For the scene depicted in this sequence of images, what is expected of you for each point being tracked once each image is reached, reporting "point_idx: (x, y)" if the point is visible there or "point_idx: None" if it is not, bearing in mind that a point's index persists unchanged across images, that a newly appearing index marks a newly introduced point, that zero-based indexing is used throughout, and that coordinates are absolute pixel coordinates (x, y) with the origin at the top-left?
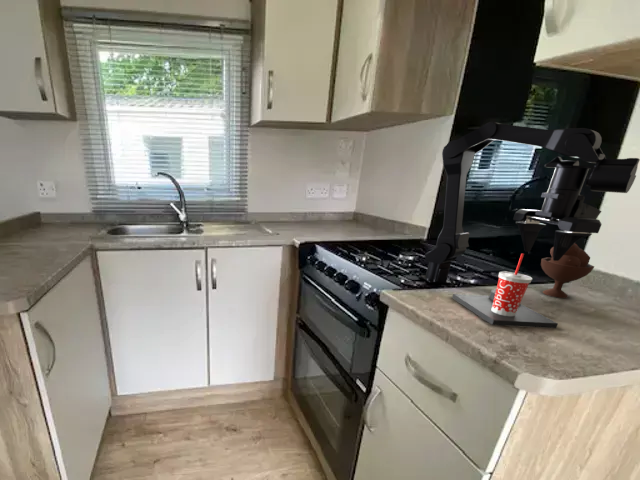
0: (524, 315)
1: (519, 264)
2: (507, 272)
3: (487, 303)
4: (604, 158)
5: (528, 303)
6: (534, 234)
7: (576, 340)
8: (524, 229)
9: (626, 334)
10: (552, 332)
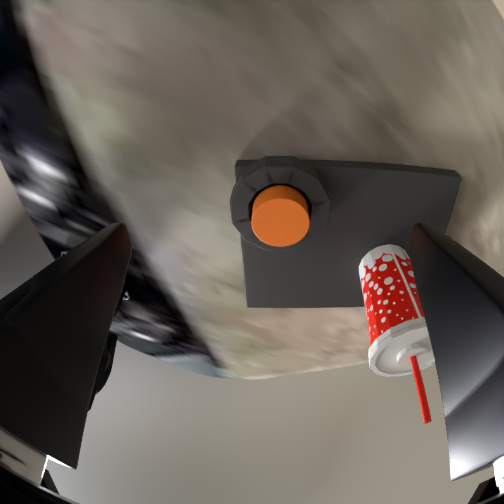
0: (408, 225)
1: (423, 388)
2: (376, 356)
3: (319, 266)
4: None
5: (248, 84)
6: (46, 330)
7: (501, 181)
8: (80, 420)
9: (485, 5)
10: (467, 199)
